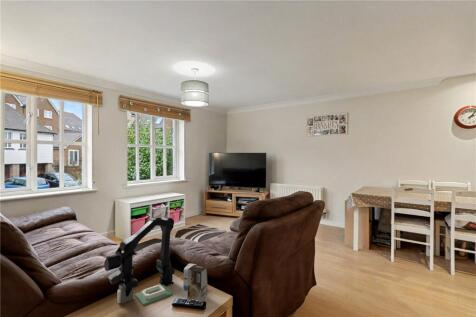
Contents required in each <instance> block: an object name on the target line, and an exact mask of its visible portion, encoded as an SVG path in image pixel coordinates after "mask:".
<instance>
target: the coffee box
mask: <svg viewBox="0 0 476 317" xmlns="http://www.w3.org/2000/svg"><path fill="white" fill-rule="evenodd" d="M208 270H209V269H208V267H206V266H202V265H197V264H196V265H193V266H191V267H190V268H189V269H188V290H186V291H187V296H186V298H187V300H190V299H193V300H198V301H203V302H204V301H205V300H206V299H207V298H208ZM193 300H192V301H193Z"/></svg>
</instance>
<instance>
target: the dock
mask: <svg viewBox="0 0 476 317" xmlns="http://www.w3.org/2000/svg"><path fill="white" fill-rule="evenodd" d="M171 296H173V292H172V291H171V290H170V289H169V288H168V287H167V286H164V285H161V284H160V283H159V284H156V285H154V286H151V287H148V288H145V289H142V290H141V291H140V292H137V293H135V294H134V297H136V299H137V300H138V302H139V303H140V304H141V305H142V306H143V307H145V306H147V305H149V304H152V303H155V302H158V301H160V300H163V299H165V298H168V297H171Z"/></svg>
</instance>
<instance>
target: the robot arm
mask: <svg viewBox="0 0 476 317" xmlns="http://www.w3.org/2000/svg"><path fill="white" fill-rule="evenodd" d="M174 225H175V219H174V218H173V217H169V216H163V217H151V218H150V219H149V220H148V221H147V222H146V223H145V224H143V226H142V227H141V228H140V229H139V230H137V231H136V232H135V233H134V234H133V235H130V236H128V237H126V238H124V239H123V240H121V242H120V243H119V246H118V248H117V249H116V250H115V253H114V254H113V255H109V256H106V259H105V260H104V262H103V264H104V269H105V272H108V271H112V270H116V269H117V270H116V271H114V272H112V273H110V274H109V275H108V276H107V278H108V281H109V282H110V284H111V285H114V284H116V283H118V282H119V283H120V285H121V284H123V285H122V286H123V287H124V288H125V292H126V297H127V296H129V294H130V292H131V290H132V288H133V289H134V288H136V287H138V286H139V281H138V280H137V279H136V278H135V277H134V273H133V270H134V269H135V266H134V265H133V261H134V256H136V255H138V253H137V252H135V249H136V248H137V247H138V245H139V243H140V242H141V241H142V240H143V239H144V238H145V237H146V236H147V235H148V234H150V232H151V231H152V230H153V229H154V228H156V227H157V226H159V227H160V230H161V243H160V244H161V245H160V256H159V258H158V259H156V261H155V262H156V265H155V267H156V269H157V271H159V273H160V276H159V282H158V283H159V284H160V285H164V286H165V287H167V286H170V285H173V284H174V281H173V279H174V278H173V275H174V274H175V270H176V269H174V268H173V267H172V262H171V258H170V246H171V245H170V244H171V234H172V233H171V232H172V231H173V229H174Z"/></svg>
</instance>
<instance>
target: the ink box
mask: <svg viewBox="0 0 476 317" xmlns="http://www.w3.org/2000/svg"><path fill="white" fill-rule="evenodd" d="M193 265H197V264H195V263H188V264H187V265H186V266H185V267H184V269H183V286H182V287H183V290H184V291H187V290H188V269H189V268H190V267H191V266H193Z"/></svg>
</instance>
